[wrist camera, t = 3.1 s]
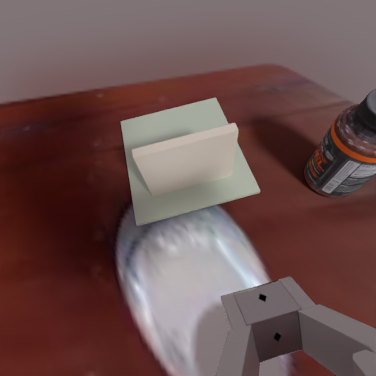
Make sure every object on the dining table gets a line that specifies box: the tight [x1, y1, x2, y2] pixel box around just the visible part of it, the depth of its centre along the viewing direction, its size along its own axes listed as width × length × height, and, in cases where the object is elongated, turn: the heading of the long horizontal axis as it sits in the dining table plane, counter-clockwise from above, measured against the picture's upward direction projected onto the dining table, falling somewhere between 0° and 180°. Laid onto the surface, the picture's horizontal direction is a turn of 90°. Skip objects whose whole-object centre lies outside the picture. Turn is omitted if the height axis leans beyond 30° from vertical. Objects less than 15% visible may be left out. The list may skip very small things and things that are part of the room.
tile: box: [132, 123, 239, 197], centre depth 24 cm, size 10×1×8 cm, turn 104°
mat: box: [121, 98, 260, 226], centre depth 30 cm, size 15×17×1 cm
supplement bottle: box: [304, 89, 376, 198], centre depth 22 cm, size 6×6×11 cm
